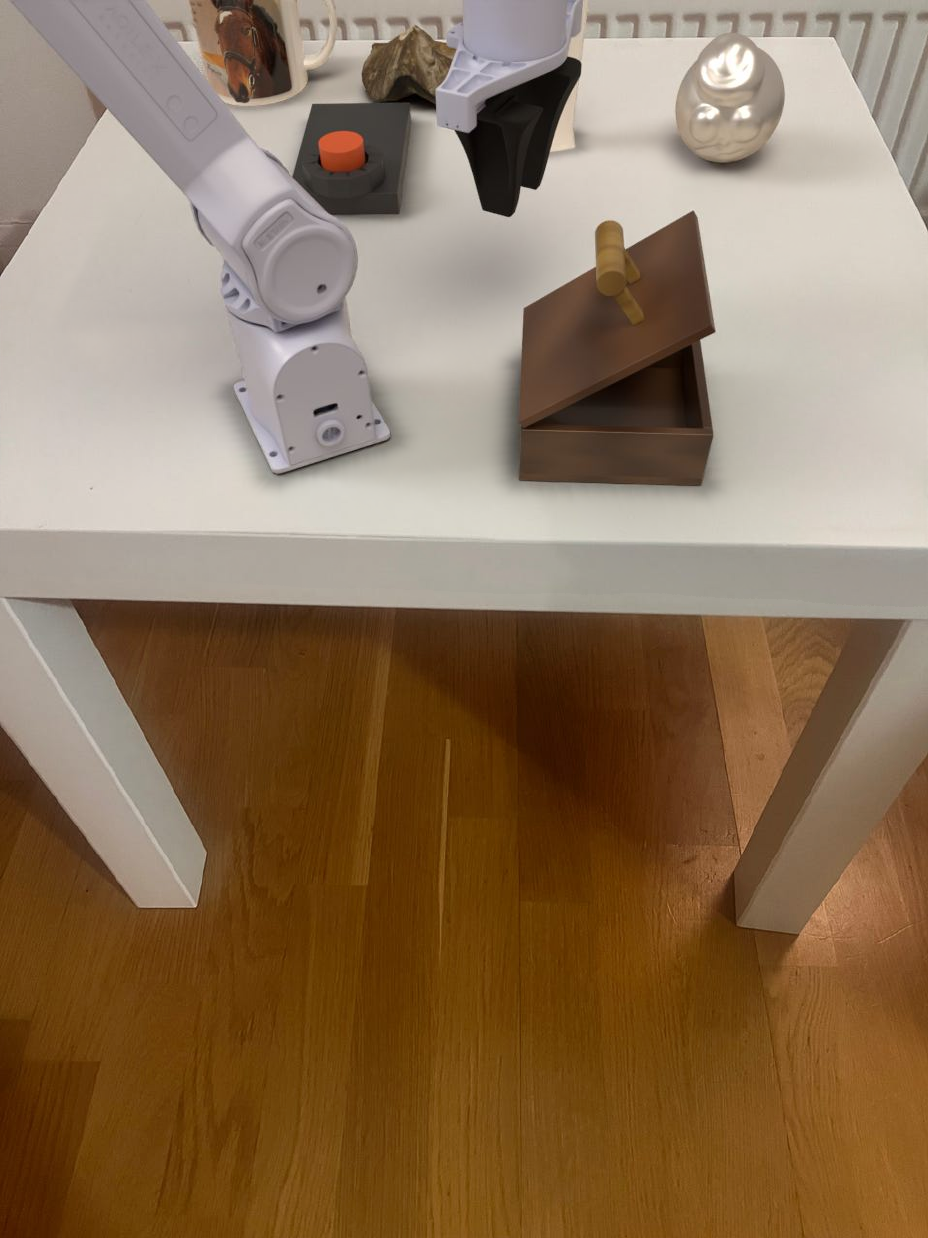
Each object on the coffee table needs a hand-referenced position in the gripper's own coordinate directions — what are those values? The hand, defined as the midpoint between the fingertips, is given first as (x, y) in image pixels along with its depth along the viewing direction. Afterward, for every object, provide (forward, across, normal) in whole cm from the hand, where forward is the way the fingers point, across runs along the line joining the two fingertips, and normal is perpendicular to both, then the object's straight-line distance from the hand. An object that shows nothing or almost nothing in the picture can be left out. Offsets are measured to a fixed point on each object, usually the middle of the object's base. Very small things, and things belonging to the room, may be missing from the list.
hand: (511, 197), depth 60 cm
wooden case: (+10, +6, +10) cm, 16 cm away
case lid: (+2, +6, +10) cm, 12 cm away
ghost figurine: (+10, -30, +5) cm, 32 cm away
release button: (+7, -10, -20) cm, 23 cm away
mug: (+10, -25, -39) cm, 47 cm away
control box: (+10, -15, -23) cm, 29 cm away
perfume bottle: (+10, -27, -9) cm, 30 cm away
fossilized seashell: (+10, -29, -25) cm, 39 cm away
